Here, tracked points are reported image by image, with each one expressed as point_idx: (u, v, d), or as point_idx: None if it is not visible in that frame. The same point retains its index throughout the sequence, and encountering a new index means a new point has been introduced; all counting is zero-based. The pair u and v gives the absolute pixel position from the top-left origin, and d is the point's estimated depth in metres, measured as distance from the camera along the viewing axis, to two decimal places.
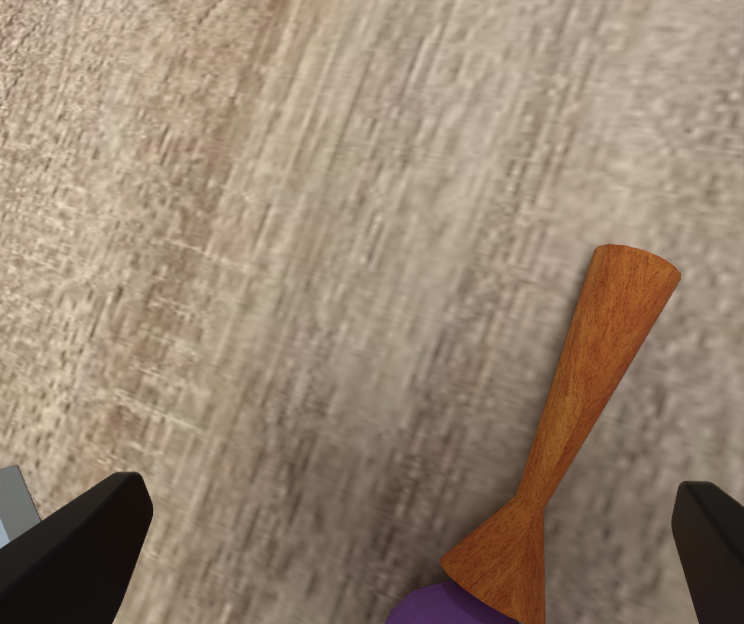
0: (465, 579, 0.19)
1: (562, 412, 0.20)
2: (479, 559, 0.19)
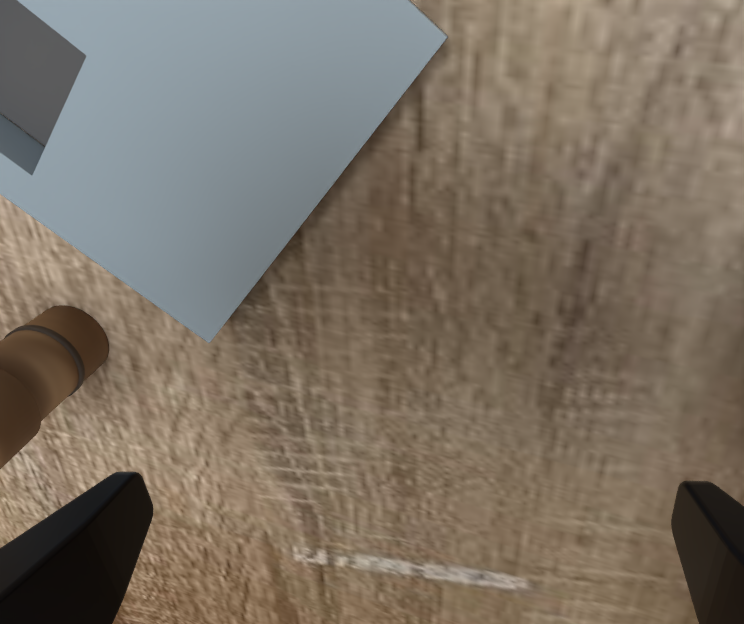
0: None
1: None
2: None
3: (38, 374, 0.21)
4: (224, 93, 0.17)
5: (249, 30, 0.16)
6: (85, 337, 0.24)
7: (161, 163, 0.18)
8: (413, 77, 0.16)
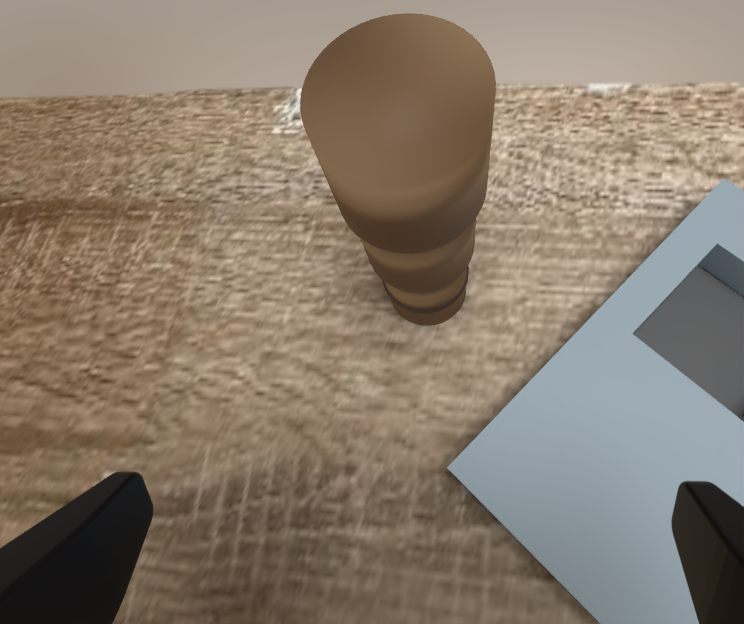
0: None
1: None
2: None
3: (439, 290, 0.20)
4: None
5: None
6: (442, 315, 0.23)
7: (652, 473, 0.19)
8: None
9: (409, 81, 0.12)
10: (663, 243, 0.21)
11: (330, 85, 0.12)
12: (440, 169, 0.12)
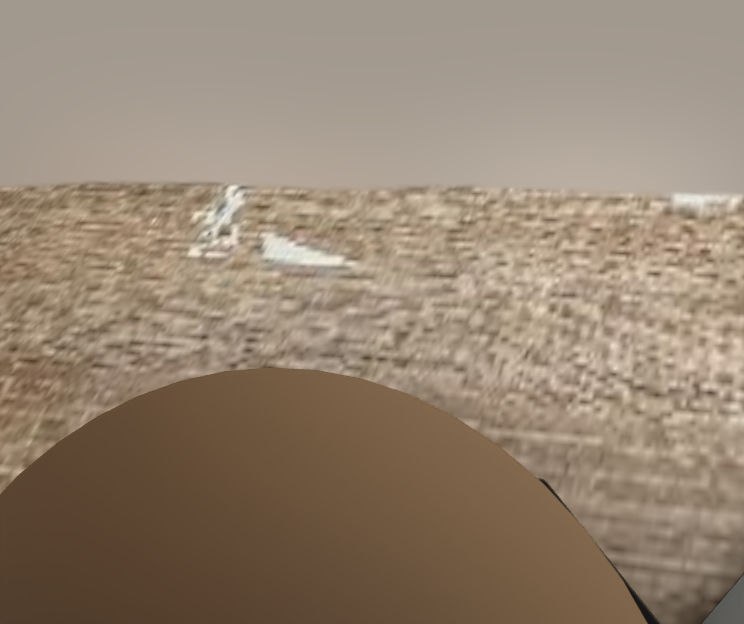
0: None
1: None
2: None
3: None
4: None
5: None
6: None
7: None
8: None
9: None
10: None
11: None
12: None
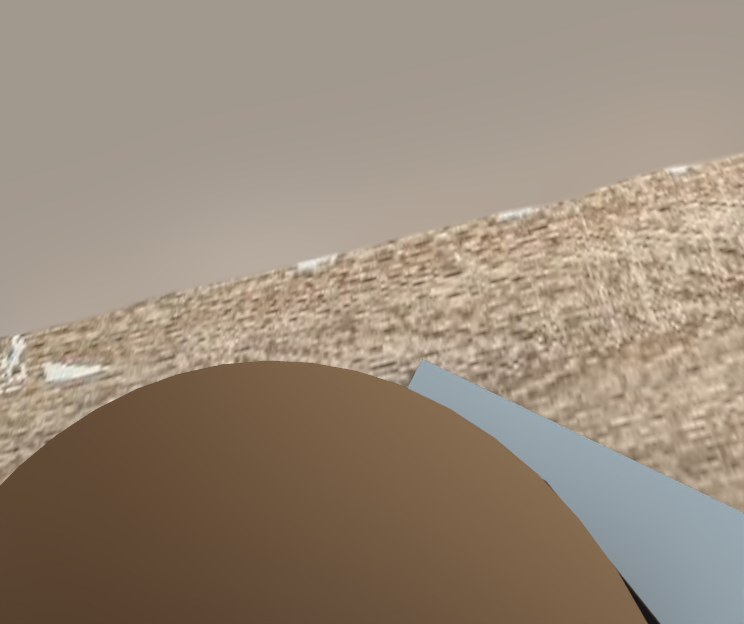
0: None
1: None
2: None
3: None
4: None
5: None
6: None
7: None
8: None
9: None
10: None
11: None
12: None
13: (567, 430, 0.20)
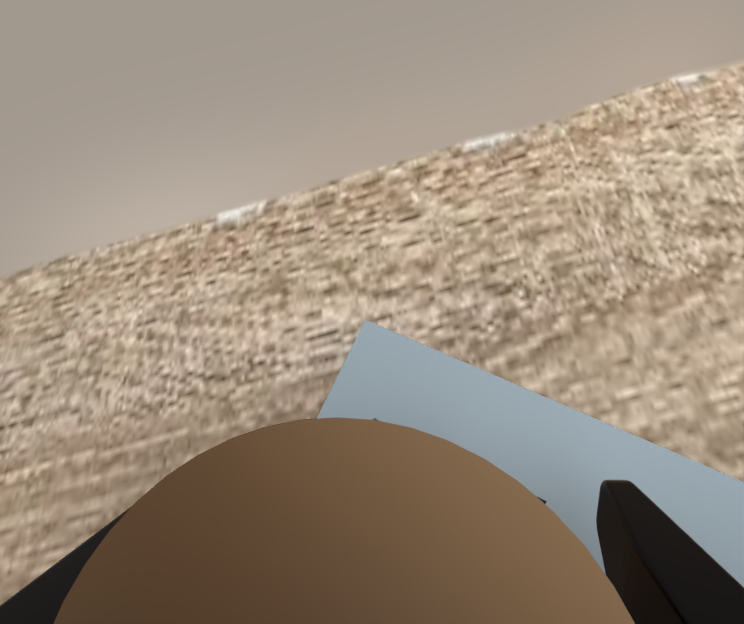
0: None
1: None
2: None
3: None
4: None
5: None
6: None
7: None
8: None
9: None
10: None
11: None
12: None
13: (558, 405, 0.15)
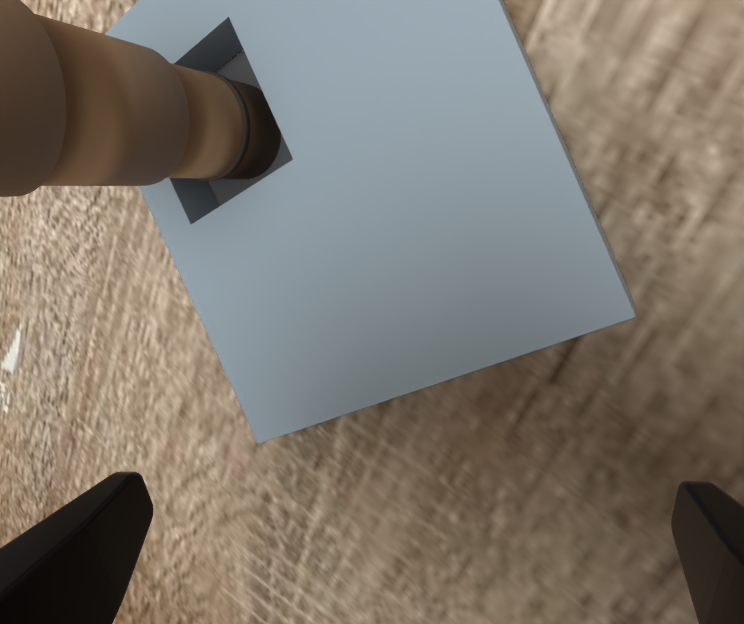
0: None
1: None
2: None
3: (205, 135, 0.16)
4: (395, 251, 0.17)
5: (448, 213, 0.16)
6: (263, 142, 0.19)
7: (305, 275, 0.18)
8: (582, 332, 0.15)
9: None
10: None
11: None
12: None
13: None
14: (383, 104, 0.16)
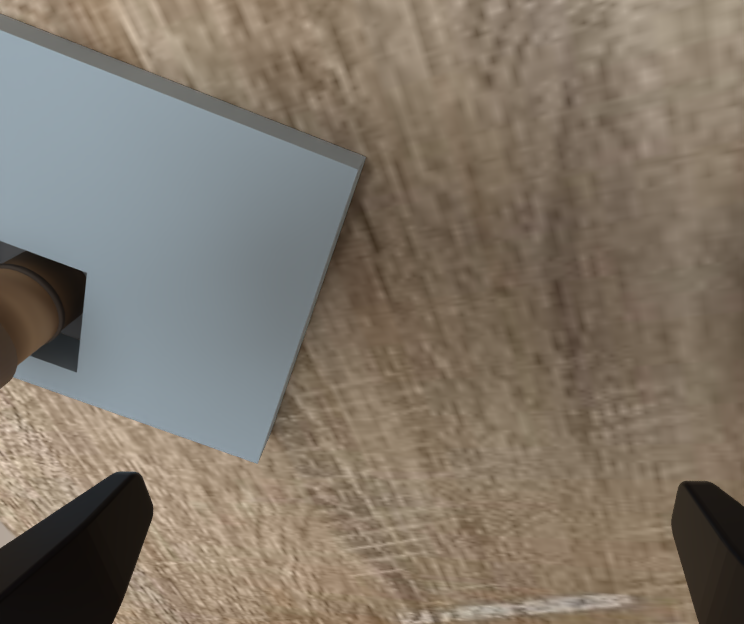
0: None
1: None
2: None
3: (14, 313, 0.19)
4: (199, 267, 0.20)
5: (201, 215, 0.19)
6: (66, 279, 0.22)
7: (169, 334, 0.22)
8: (343, 208, 0.18)
9: None
10: None
11: None
12: None
13: None
14: (97, 188, 0.19)
